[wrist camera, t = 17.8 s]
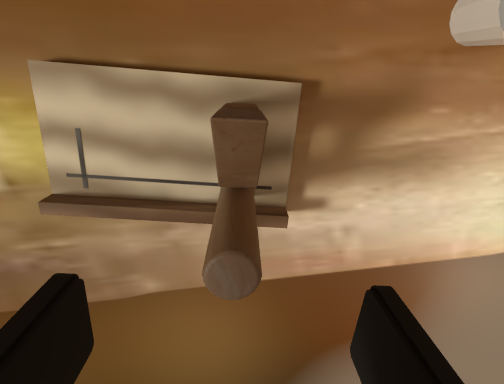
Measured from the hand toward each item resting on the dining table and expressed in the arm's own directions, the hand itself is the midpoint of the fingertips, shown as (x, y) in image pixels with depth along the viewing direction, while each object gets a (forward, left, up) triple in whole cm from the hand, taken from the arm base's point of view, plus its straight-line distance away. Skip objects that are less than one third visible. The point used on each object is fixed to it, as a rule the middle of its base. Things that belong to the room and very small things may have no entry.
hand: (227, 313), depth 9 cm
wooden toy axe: (0, 0, -24) cm, 24 cm away
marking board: (0, -8, -26) cm, 27 cm away
